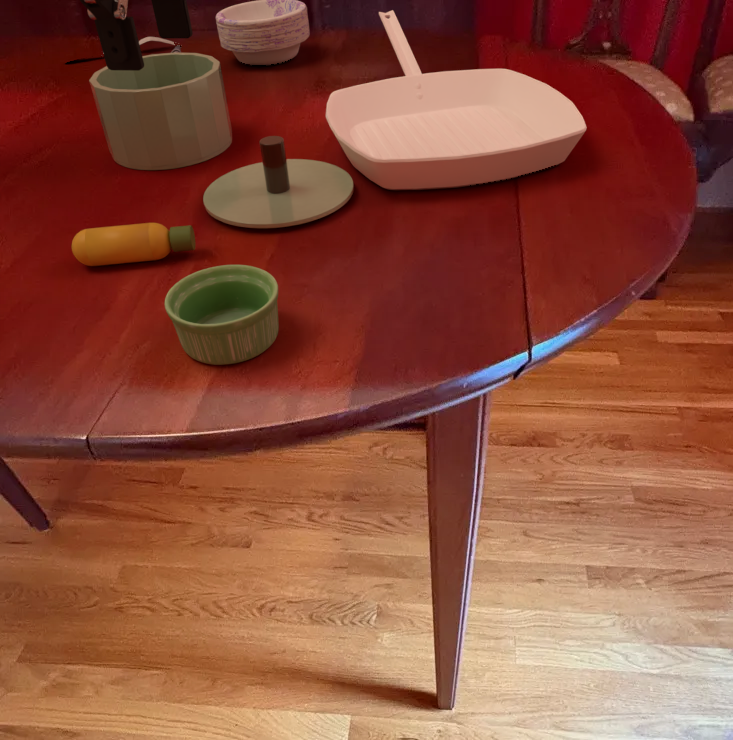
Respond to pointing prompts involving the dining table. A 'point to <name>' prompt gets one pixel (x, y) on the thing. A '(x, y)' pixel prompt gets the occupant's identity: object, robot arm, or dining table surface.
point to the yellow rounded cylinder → (130, 243)
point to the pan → (451, 124)
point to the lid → (278, 190)
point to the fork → (155, 40)
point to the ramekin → (225, 313)
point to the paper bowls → (263, 30)
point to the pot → (164, 111)
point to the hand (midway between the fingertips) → (152, 52)
